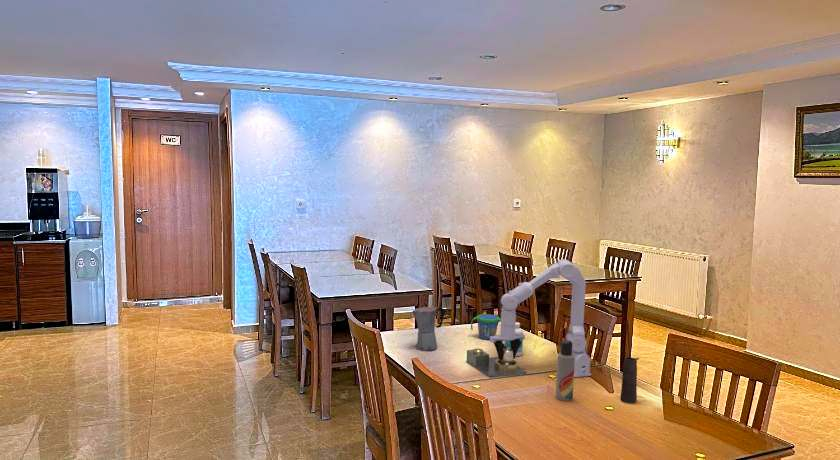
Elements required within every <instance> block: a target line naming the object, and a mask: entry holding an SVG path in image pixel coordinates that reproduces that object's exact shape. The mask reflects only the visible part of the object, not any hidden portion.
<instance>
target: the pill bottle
mask: <svg viewBox="0 0 840 460" xmlns="http://www.w3.org/2000/svg"><path fill="white" fill-rule="evenodd" d="M520 326H521V322H517V321H516V324H515V334H524V331H523V329H522V328H521V327H520ZM520 341H521V342H522V343H521V345H520V347H519V349H518V351H517V353H516V357H519V356H522V354H523V345H524V344H523V343H524V342H523V341H524V340H520ZM504 344H505V345H504V346H506V348H511V344H510V341H504Z"/></svg>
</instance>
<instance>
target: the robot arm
mask: <svg viewBox="0 0 840 460" xmlns="http://www.w3.org/2000/svg"><path fill="white" fill-rule="evenodd" d="M561 277H562V278H563V279H565V280H566V281H569V283H570V284H571V287H572V289H571V305H570V323H569V327H568V332H567V333H566V336H565V340H567V341H572V343H573V346H572V354H573V355H574V356H575V364H574V378H581V377H588V376H592V373H590V372H591V359H590V356H589V355H588V354H587V353H586V348H587V345H588V344H587V340H586V337H585V336H586V334H585V333H586V332H585V329H584V322H585V321H584V320H585V303H586V284H587V283H586V279H585V278H584V275H583V274H582V273H581V270H580V268H579V267H577V265H575V264H574V263H572V262H571V261H570V260H568V259H565V258H563V259H560V260H558V262H554V263H553V264H551V265H550V266H548V268H546V269H544V270H543V271H541V273H540V274H538V275H537V276H536V277H534V278H532V280H530V281H529V282H528V281H523V282H519V283H518V286H516V287H515V288H514V289H512V290H509V291H508V292H507V293H505V294H503V295H502V296H501V299H500V304H501V312H500V319H501V321H500V333H499V334H496V336H490V339H489V342H491V343H493V345H494V347H495V350H496V352H497V354H496V355H497V357H498V359H500V360H502V359H503V349H504V346H505V343H503V342H505V341H510V344H511V348H512V349H513V360H515V359H516V357H517V356H516V353H517V351H518V349H519V347H520V345H521V343H522V342H521V341H520V340H523V341H525V340H526V335H525V334H524V333H523V334H515V324H516V322H517V321H516V320H517V312H516V309H517V307H518V306H519V305H518V304H521V303H522V302H524V301H525V300H527V299H528V298H530V297H531V296H532V295H534V291H535V289H538V288H539V287H540V286H542V285H543V284H545V283H546V282H549V281H550V280H551V279H561Z"/></svg>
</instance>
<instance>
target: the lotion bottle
mask: <svg viewBox="0 0 840 460" xmlns="http://www.w3.org/2000/svg"><path fill="white" fill-rule="evenodd" d="M572 346H573V343H572V341H567V340H566V339H565V340H562V341H561V342H560V352H559V353H557V360H556V362H557V363H556V385H555V398H556V399H557V400H560V401H562V402H564V401H565V402H569V401H572V400H573V399H574V397H573V396H574V380H575V377H574V364H575V356H574V355H573V354H572Z"/></svg>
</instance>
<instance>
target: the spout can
mask: <svg viewBox="0 0 840 460" xmlns="http://www.w3.org/2000/svg"><path fill="white" fill-rule="evenodd" d="M513 360H514V359H513V349H512V348H506V346H505V345H504V349H503V359H502V360H500V364H502V365H513Z"/></svg>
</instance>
